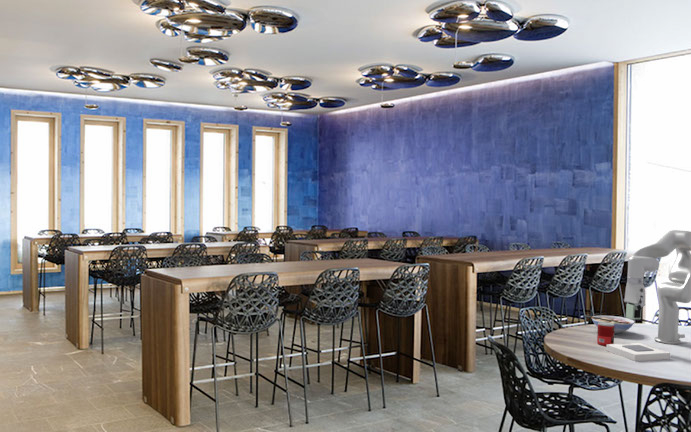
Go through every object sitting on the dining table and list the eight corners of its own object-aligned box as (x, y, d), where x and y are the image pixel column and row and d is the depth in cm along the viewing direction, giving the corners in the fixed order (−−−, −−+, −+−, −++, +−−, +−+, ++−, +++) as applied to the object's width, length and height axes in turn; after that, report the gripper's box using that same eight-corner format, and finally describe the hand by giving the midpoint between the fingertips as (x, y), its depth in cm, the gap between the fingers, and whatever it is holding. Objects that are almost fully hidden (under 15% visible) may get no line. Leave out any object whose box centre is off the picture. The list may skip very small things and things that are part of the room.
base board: (639, 348, 320) (640, 342, 320) (669, 359, 300) (670, 351, 300) (606, 350, 314) (606, 343, 314) (634, 361, 295) (634, 353, 295)
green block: (634, 317, 326) (634, 303, 326) (640, 319, 321) (641, 305, 321) (625, 317, 325) (626, 303, 325) (632, 319, 320) (633, 305, 320)
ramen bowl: (642, 333, 356) (643, 319, 356) (625, 339, 341) (626, 324, 340) (599, 326, 374) (600, 312, 374) (581, 331, 359) (582, 316, 358)
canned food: (615, 346, 323) (616, 325, 322) (598, 345, 324) (599, 324, 324) (611, 343, 330) (612, 322, 330) (595, 342, 332) (596, 321, 331)
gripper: (653, 283, 315) (651, 319, 316) (630, 279, 332) (628, 313, 332) (640, 283, 313) (638, 320, 314) (617, 278, 330) (616, 313, 330)
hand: (633, 316), depth 323 cm, fingers closed on green block, 4 cm apart
